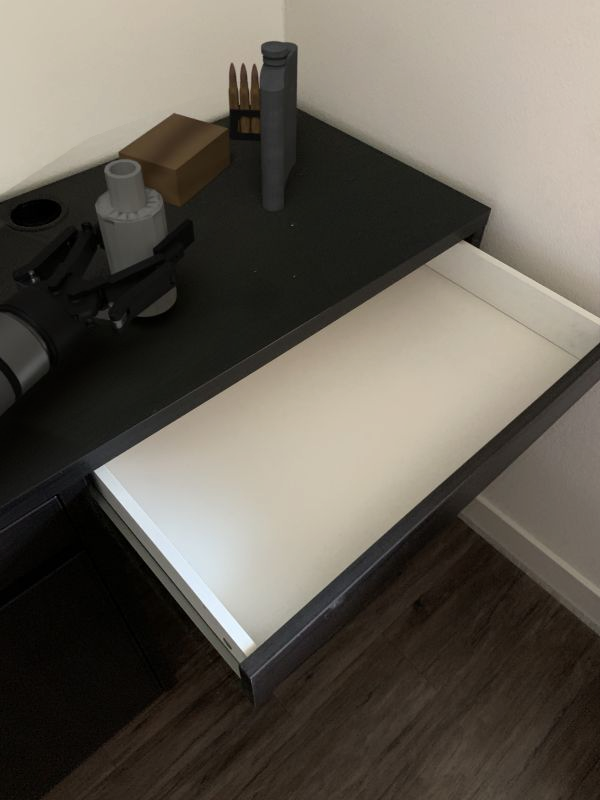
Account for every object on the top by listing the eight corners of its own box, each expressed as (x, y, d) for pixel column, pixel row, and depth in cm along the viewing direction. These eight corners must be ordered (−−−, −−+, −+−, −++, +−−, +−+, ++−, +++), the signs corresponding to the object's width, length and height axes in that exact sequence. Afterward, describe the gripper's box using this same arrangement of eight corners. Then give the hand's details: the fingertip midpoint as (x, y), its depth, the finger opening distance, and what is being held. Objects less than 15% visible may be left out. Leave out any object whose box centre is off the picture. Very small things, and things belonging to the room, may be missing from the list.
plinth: (125, 189, 100) (118, 151, 95) (178, 148, 108) (173, 112, 104) (180, 207, 97) (175, 169, 93) (230, 164, 105) (228, 128, 101)
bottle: (105, 304, 79) (72, 175, 66) (141, 272, 83) (116, 144, 70) (154, 324, 77) (129, 194, 64) (188, 290, 81) (171, 161, 68)
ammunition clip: (229, 139, 111) (225, 64, 102) (230, 133, 112) (226, 59, 103) (293, 142, 111) (294, 67, 101) (293, 136, 112) (295, 62, 103)
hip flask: (282, 212, 97) (282, 71, 82) (254, 210, 97) (250, 69, 82) (297, 157, 107) (299, 23, 92) (272, 155, 107) (270, 21, 92)
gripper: (-41, 333, 69) (100, 222, 83) (113, 403, 63) (238, 272, 77) (-69, 276, 63) (87, 167, 77) (97, 347, 58) (234, 216, 71)
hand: (162, 220), depth 77 cm, fingers closed on bottle, 7 cm apart
